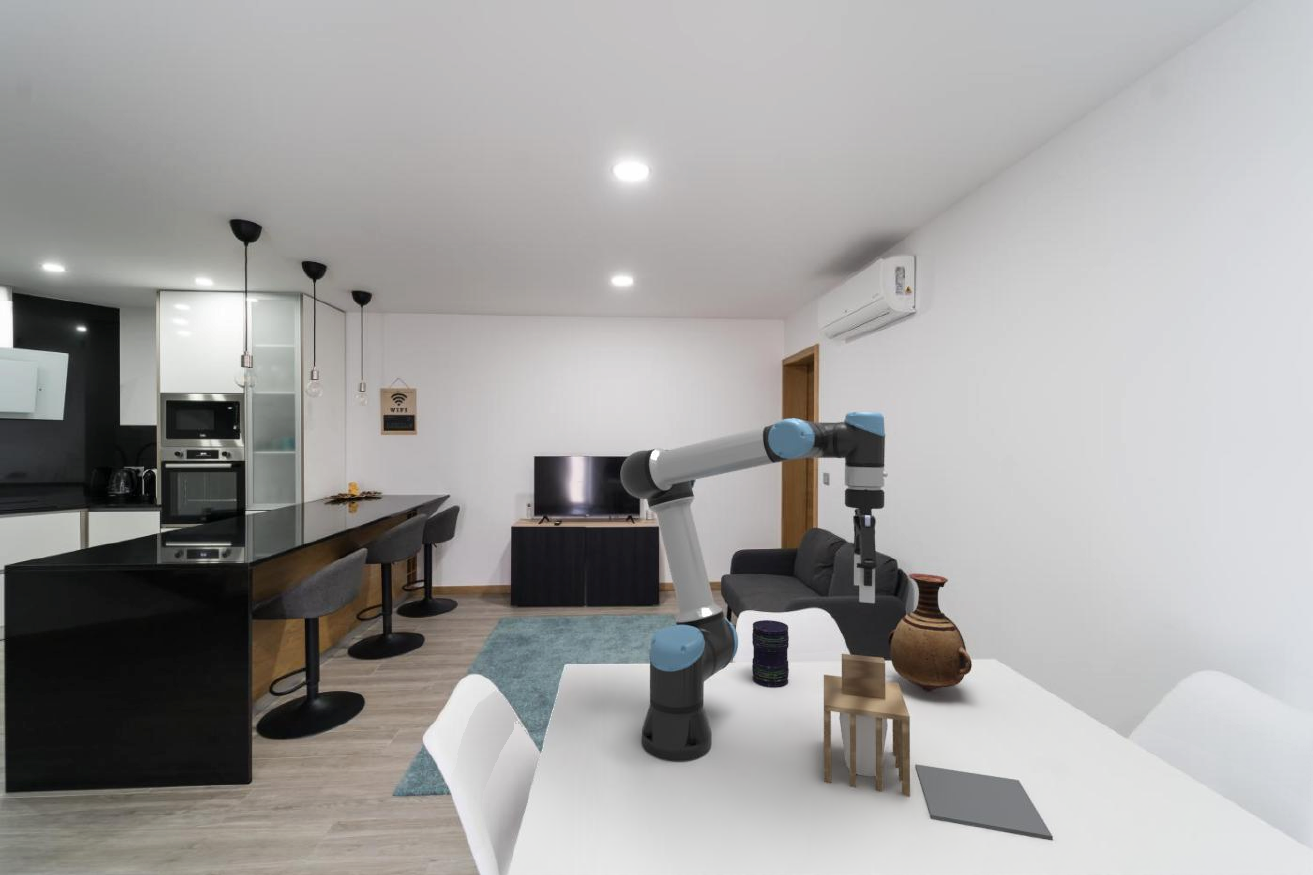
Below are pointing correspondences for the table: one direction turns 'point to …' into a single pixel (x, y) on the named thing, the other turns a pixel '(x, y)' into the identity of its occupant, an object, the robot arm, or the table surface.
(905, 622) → the vase
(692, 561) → the robot arm
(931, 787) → the mat
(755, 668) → the dark blue cylinder
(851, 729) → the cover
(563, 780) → the table surface
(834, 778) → the table surface
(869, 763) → the cup
